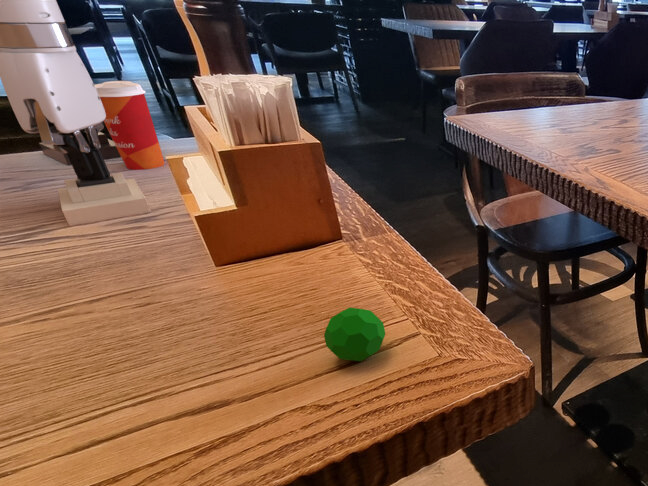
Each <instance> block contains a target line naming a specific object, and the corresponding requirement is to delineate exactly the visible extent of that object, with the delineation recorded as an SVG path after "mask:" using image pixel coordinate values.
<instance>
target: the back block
mask: <svg viewBox="0 0 648 486" xmlns="http://www.w3.org/2000/svg"><path fill="white" fill-rule="evenodd" d="M98 139H99V142H100V148H99V150H100V152H101V154H102V157H103V159H104V161H106V160H112V159H118V158H121V156H120V154H119V152H118V150H117V147H116V145H115V143H114V141H113V139H112V140H111V139H109V138H108V136H107V134H106V133H103V132H101V131H100V132H99V133H98ZM38 145H39V147H40V150H41V151H42V153H43V155H44V156H47V157H49V158H51V159H53V160H54V161H55V160H56V161H57V162H59V163H61V164H64V165H65V166H69V167H70V166H72V164H71V162H70V160H69V158H68V156H67V154H66V153H63V152H62V151H61V149H60V147H59V146H57V145H46V144H44V143H43V142H38Z"/></svg>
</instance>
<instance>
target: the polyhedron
mask: <svg viewBox="0 0 648 486" xmlns="http://www.w3.org/2000/svg"><path fill="white" fill-rule="evenodd" d="M385 336H386V330H385V325H384V322H383V321H382V320H381V319H380V318H379V316H377V314H375V313H374V312H373V311H372V310H371V309H366V308H365V309H363V308H357V307H347V308H345V309H344V310H342V311H340V312H338V313H336V314H335V315H333V316H331V317H330V319H329V321H328V324H327V326H326V327H325V330H324V334H323V337H324V341H325V346H326V347H327V349H329V351H330V352H332V353H333V354H334V355H335V356H336V357H337V358H338V359H339V360H344V361H345V360H346V361H354V362H363V361H364V360H366V359H368V358H369V357H371V356H372V355H373V354H376V353H377V352H379V351H380V349H381V347H382V343H383V342H384V339H385Z"/></svg>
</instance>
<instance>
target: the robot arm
mask: <svg viewBox="0 0 648 486" xmlns="http://www.w3.org/2000/svg"><path fill="white" fill-rule="evenodd" d="M0 82H1V84H2V86H3V89H4V92H5V95H6V96H7V99H8V102H9V104H10V106H11V109H12V111H13V113H14V115H15V118H16V119H17V122H18V124H19V125H20V128H21V129H22V130H23V131H24V132H25V133H28V134H39V136H40V140H41V143H44V144H46V145H57V146H59V147H60V149H61V151H62V152H63V153H66V154H67V156H68V158H69V160H70V162H71V164H72V165H71V166H72V168H73V171H74V173H75V175H76V178H78V179H80V180H103V179H105V178H107V177H109V176H110V174H111V172H110V170H109V169H108V166H107V164H106V160H104V159H103V157H102V154H101V152H100V150H99V148H100V142H99V139H98V133H99V132H101V131H103V130H104V127H105V124H104V121H103V120H104V119H105V118H106V113H105V110H104V107H103V104H102V102H101V99H100V97H99V94H98V92H97V90H96V88H95V86H94V85H95V83H94V82H93V79H92V77H91V76H90V73H89V72H88V70H87V67H86V65H85V64H84V63H83V60H82V58H81V57H80V55H79V54H78V52H77V47H76V45H75V43H74V40H73V38H72V35H71V32H70V30H69V27H68V26H67V23H66V20H65V19H64V16H63V13H62V11H61V9H60V6H59V4H58V1H57V0H0Z"/></svg>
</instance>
